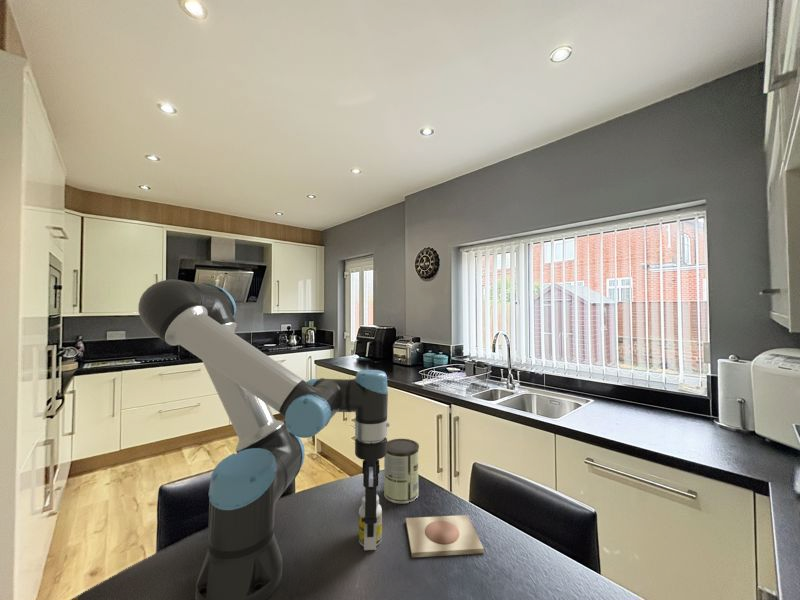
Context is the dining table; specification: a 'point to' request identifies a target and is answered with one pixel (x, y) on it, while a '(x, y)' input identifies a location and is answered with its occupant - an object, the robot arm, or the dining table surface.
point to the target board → (442, 536)
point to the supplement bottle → (378, 524)
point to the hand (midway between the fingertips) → (370, 539)
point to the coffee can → (401, 471)
